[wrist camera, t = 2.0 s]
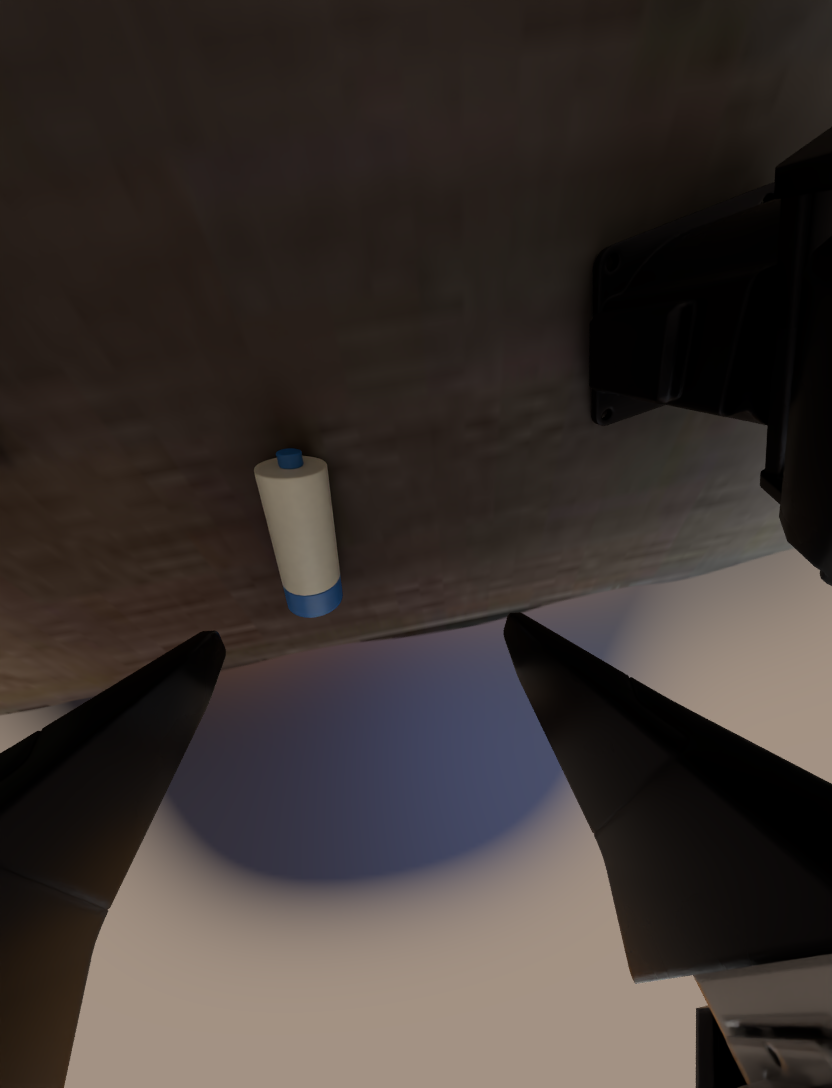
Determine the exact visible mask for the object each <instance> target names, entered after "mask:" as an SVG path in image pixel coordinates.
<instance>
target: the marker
mask: <svg viewBox="0 0 832 1088" xmlns="http://www.w3.org/2000/svg"><path fill="white" fill-rule="evenodd" d="M276 457H277V458H273V459H269V460H266V461H264V462H261V463H259V464H258V465H256V466H255V468H254V474H255V478H256V482H257V486H258V490H259V494H260V498H261V502H262V505H263V509H264V513H265V517H266V521H267V525H268V529H269V533H270V537H271V541H272V545H273V549H274V553H275V557H276V561H277V565H278V569H279V573H280V577H281V580H282V584H283V588H284V592H285V596H286V600H287V604H288V608H289V609H290V611H291V612H292V613H294V614H295V615H298V616H301V617H307V618H311V617H318V616H322V615H325V614H327V613H329V612H331V611H333V610H334V609H335V608H336V607H337V606H338V605H339V604H340V602H341V600H342V596H343V594H342V585H341V577H340V568H339V560H338V552H337V543H336V535H335V527H334V518H333V510H332V501H331V493H330V485H329V476H328V468H327V464H326V462H325V461H323V460H321V459H319V458H315V457H309V456H302V452H301V450H299V449H293V448H289V449H282V450H279V451H277V452H276Z"/></svg>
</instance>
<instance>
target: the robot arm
mask: <svg viewBox="0 0 832 1088" xmlns="http://www.w3.org/2000/svg"><path fill="white" fill-rule="evenodd" d="M762 200H763V203H762V204H761V202H762ZM609 256H611V257H612V260H613V264H612V267H611V269H610V271H608V270H607V268H606V263H607V260H608V258H609ZM589 386H590V387H591V388H592V409H591V417H592V421H593V422H594V423H596V424H599V425H602V426H605V425H609V424H612V423H615V422H618V421H620V420H623V419H626V418H629V417H632V416H635V415H638V414H641V413H643V412H646V411H649V410H652V409H655V408H658V407H661V406H663V405H670V406H675V407H680V408H685V409H690V410H694V411H699V412H704V413H709V414H714V415H718V416H723V417H729V418H734V419H739V420H744V421H749V422H753V423H758V424H763V425H768V429H767V446H766V463H765V469H764V470H762V471H761V474H760V486H761V488H763V489H764V490H765V491H766V492H767V493H768V494H769V495H770V496H771V497H773V498H774V499H775V500H776V501H777V502H778V503H779V504H780V513H779V518H780V521H781V524H782V527H783V530H784V533H785V536H786V539H787V541H788V542H789V543H790V544H791V545H792V546H793V547H794V548H795V549H796V550H797V551H798V552H800V553H801V554H802V555H803V556H804V557H805V558H806V559H807V560H808V561H809V562H810V563H811V564H812V565H813V566H814V567H816V568H818V569H819V570H820V576H821V579H822V580H823V581H825V582H826V583H827V584H829V585H831V586H832V127H831V128H829V129H828V130H827V131H825V132H824V133H822V134H821V135H819V136H818V137H817V138H815V139H814V140H812V141H811V142H810V143H808V144H807V145H805V146H804V147H803V148H801V149H800V150H798V151H797V152H795V153H794V154H793V155H791V156H790V157H788V158H787V159H786V160H784V161H783V162H781V163H780V164H779V165H777V166H776V168H775V182H774V183H770V184H768V185H765V186H763V187H760V188H757V189H755V190H752V191H750V192H747V193H745V194H742V195H739V196H737V197H734V198H732V199H729V200H727V201H724V202H721V203H719V204H716V205H714V206H711V207H709V208H706V209H703V210H701V211H698V212H696V213H693V214H691V215H688V216H685V217H683V218H680V219H678V220H675V221H673V222H670V223H667V224H665V225H662V226H660V227H657V228H655V229H652V230H649V231H647V232H644V233H642V234H639V235H637V236H634V237H631V238H629V239H626V240H624V241H621V242H619V243H616V244H614V245H611V246H609V247H606V248H605V249H603V250H602V251H601V252H600V253H599V254H598V256H597V257H596V260H595V262H594V266H593V315H592V320H591V322H590V355H589ZM606 409H607V414H606V415H605V417H603V418H602V413H603V412H604V411H605V410H606ZM504 638H505V641H506V644H507V647H508V650H509V653H510V656H511V659H512V662H513V665H514V667H515V670H516V673H517V676H518V678H519V680H520V682H521V685H522V686H523V689H524V691H525V693H526V695H527V697H528V699H529V701H530V703H531V705H532V707H533V709H534V712H535V713H536V716H537V718H538V720H539V722H540V724H541V726H542V728H543V730H544V732H545V734H546V736H547V739H548V741H549V743H550V745H551V747H552V749H553V751H554V753H555V755H556V757H557V759H558V762H559V764H560V766H561V767H562V770H563V771H564V774H565V776H566V778H567V780H568V782H569V784H570V786H571V789H572V790H573V793H574V795H575V797H576V799H577V801H578V803H579V805H580V807H581V809H582V811H583V814H584V815H585V818H586V820H587V822H588V824H589V826H590V828H591V830H592V832H593V833H594V836H595V839H596V841H597V843H598V845H599V848H600V850H601V853H602V856H603V859H604V862H605V866H606V870H607V874H608V878H609V882H610V886H611V891H612V896H613V900H614V904H615V909H616V913H617V918H618V922H619V926H620V931H621V935H622V939H623V944H624V948H625V953H626V957H627V961H628V966H629V969H630V973H631V976H632V978H633V980H634V983H635V984H637V983H643V982H651V981H657V980H663V979H670V978H677V977H683V976H690V975H693V976H694V978H695V980H696V982H697V984H698V986H699V988H700V990H701V992H702V994H703V996H704V997H705V1000H706V1001H707V1003H708V1006H705V1007H700V1008H696V1088H832V784H831V783H829V782H827V781H825V780H823V779H821V778H819V777H817V776H815V775H813V774H812V773H810V772H808V771H806V770H804V769H802V768H800V767H798V766H796V765H794V764H793V763H791V762H789V761H787V760H785V759H783V758H781V757H779V756H777V755H775V754H773V753H771V752H769V751H768V750H766V749H764V748H762V747H760V746H758V745H756V744H754V743H752V742H750V741H748V740H746V739H745V738H743V737H741V736H739V735H737V734H735V733H733V732H731V731H729V730H727V729H725V728H723V727H721V726H720V725H718V724H716V723H714V722H712V721H710V720H708V719H706V718H704V717H702V716H700V715H698V714H697V713H695V712H693V711H691V710H689V709H687V708H685V707H683V706H681V705H680V704H678V703H676V702H674V701H672V700H670V699H668V698H667V697H665V696H663V695H661V694H660V693H658V692H656V691H654V690H653V689H651V688H649V687H647V686H646V685H644V684H642V683H640V682H639V681H637V680H635V679H634V678H632V677H630V678H629V676H628V675H626V674H624V673H623V672H621V671H619V670H617V669H616V668H614V667H613V666H611V665H609V664H607V663H606V662H604V661H602V660H601V659H599V658H597V657H596V656H594V655H592V654H591V653H589V652H587V651H585V650H584V649H582V648H580V647H579V646H577V645H575V644H573V643H572V642H570V641H568V640H567V639H565V638H563V637H562V636H560V635H558V634H557V633H555V632H553V631H551V630H550V629H548V628H546V627H545V626H543V625H541V624H539V623H538V622H536V621H534V620H533V619H531V618H529V617H528V616H526V615H524V614H523V613H520V612H519V613H510V614H508V617H507V620H506V624H505V627H504ZM225 656H226V649H225V646H224V644H223V642H222V640H221V637H220V635H219V633H218V632H217V631H202V632H200V633H198V634H197V635H195V636H193V637H192V638H190V639H188V640H187V641H185V642H183V643H182V644H180V645H178V646H177V647H175V648H174V649H172V650H170V651H169V652H167V653H165V654H164V655H162V656H160V657H159V658H157V659H156V660H154V661H152V662H151V663H149V664H147V665H146V666H144V667H142V668H141V669H139V670H137V671H136V672H134V673H133V674H131V675H129V676H128V677H126V678H124V679H123V680H121V681H119V682H118V683H116V684H115V685H113V686H111V687H110V688H108V689H106V690H105V691H103V692H101V693H100V694H98V695H96V696H95V697H93V698H92V699H90V700H88V701H87V702H85V703H83V704H82V705H80V706H79V707H77V708H75V709H74V710H72V711H70V712H69V713H67V714H65V715H64V716H62V717H60V718H59V719H57V720H55V721H54V722H52V723H51V724H49V725H47V726H46V727H44V728H43V729H42V731H37V732H35V733H33V734H32V735H30V736H28V737H27V738H25V739H23V740H22V741H20V742H19V743H17V744H15V745H14V746H12V747H10V748H8V749H7V750H5V751H3V752H2V753H0V1088H64V1085H65V1080H66V1075H67V1070H68V1066H69V1061H70V1056H71V1051H72V1046H73V1042H74V1037H75V1032H76V1028H77V1023H78V1018H79V1013H80V1009H81V1004H82V999H83V995H84V990H85V985H86V980H87V976H88V971H89V966H90V962H91V956H92V953H93V949H94V945H95V942H96V940H97V937H98V934H99V931H100V929H101V926H102V924H103V922H104V919H105V917H106V915H107V912H108V910H107V909H109V908H110V907H111V905H112V903H113V900H114V898H115V896H116V894H117V892H118V890H119V888H120V886H121V884H122V882H123V880H124V878H125V876H126V874H127V872H128V869H129V867H130V865H131V863H132V861H133V859H134V857H135V855H136V853H137V851H138V849H139V847H140V845H141V843H142V841H143V839H144V836H145V834H146V832H147V830H148V828H149V826H150V824H151V822H152V820H153V818H154V816H155V814H156V812H157V810H158V807H159V805H160V803H161V801H162V799H163V797H164V795H165V793H166V791H167V789H168V787H169V785H170V783H171V780H172V778H173V776H174V774H175V772H176V770H177V768H178V766H179V764H180V762H181V760H182V758H183V756H184V753H185V752H186V750H187V748H188V745H189V743H190V741H191V739H192V737H193V735H194V733H195V730H196V729H197V727H198V725H199V723H200V721H201V719H202V717H203V715H204V712H205V710H206V708H207V706H208V704H209V701H210V698H211V696H212V693H213V691H214V688H215V685H216V682H217V679H218V676H219V673H220V671H221V668H222V665H223V662H224V659H225Z"/></svg>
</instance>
